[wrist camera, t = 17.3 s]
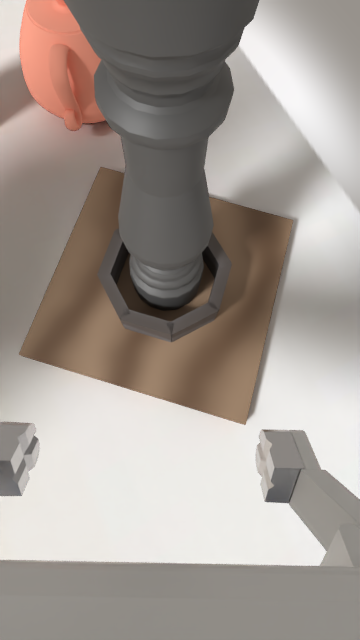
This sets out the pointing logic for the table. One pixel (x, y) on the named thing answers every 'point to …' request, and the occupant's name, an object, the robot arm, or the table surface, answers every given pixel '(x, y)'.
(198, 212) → the candle holder
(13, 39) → the table surface
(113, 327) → the candle dish
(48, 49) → the sugar bowl
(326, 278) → the table surface
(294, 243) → the table surface
